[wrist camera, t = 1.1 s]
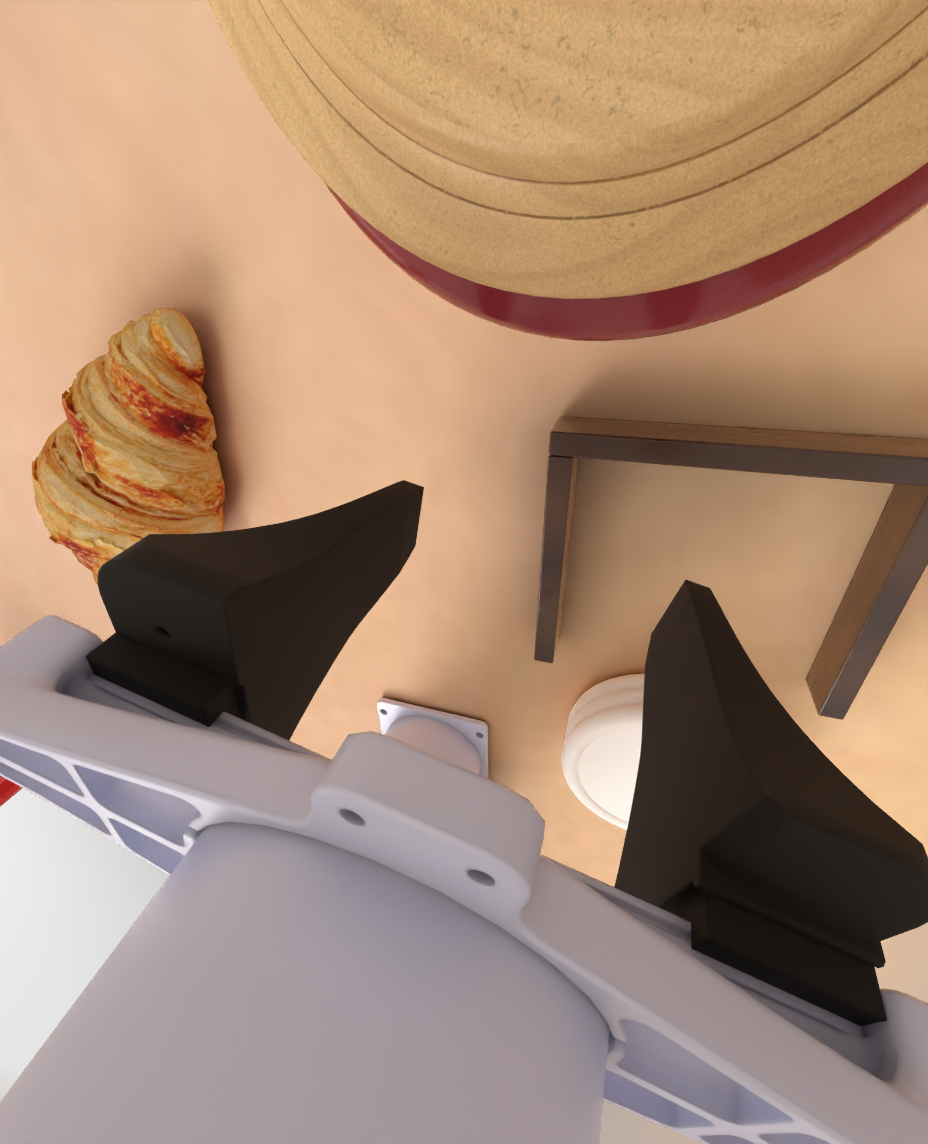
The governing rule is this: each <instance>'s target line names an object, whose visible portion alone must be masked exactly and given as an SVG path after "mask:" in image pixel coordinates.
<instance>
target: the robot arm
mask: <svg viewBox="0 0 928 1144" xmlns="http://www.w3.org/2000/svg"><path fill="white" fill-rule="evenodd" d="M423 490H424V487H421V486H419V485H416V484H413V483H410V482H407V481H404V480H403V481H400V482H397V483H395V484H392V485H390V486H388V487H385V488H383V489H380V490H378V491H376V492H373V493H371V494H369V495H366V496H364V497H361V498H359V499H356V500H354V501H351V502H349V503H346V504H343V505H340V506H337V507H335V508H332V509H329V510H326V511H323V512H320V513H317V514H314V515H311V516H307V517H303V518H300V519H295V520H291V521H287V522H283V523H278V524H273V525H267V526H261V527H255V528H249V529H242V530H234V531H224V532H212V533H196V534H149V535H147V536H146V537H144V538H143V539H141V540H140V541H138V542H136V543H135V544H133V545H132V546H130V547H129V548H127V549H126V550H124V551H123V552H121V553H120V554H118V555H117V556H115V557H113V558H112V559H110V560H109V561H107V562H106V563H104V564H103V565H102V566H101V568H100V569H99V571H98V588H99V591H100V595H101V597H102V600H103V602H104V604H105V607H106V609H107V612H108V614H109V617H110V619H111V621H112V624H113V626H114V629H115V631H116V633H115V634H113V635H112V636H111V637H110V638H108V639H107V640H106V641H104V642H103V641H102V640H101V639H100V638H99V637H98V636H97V635H96V634H94V633H92V632H91V631H89V630H87V629H85V628H82V627H80V626H78V625H76V624H73V623H71V622H69V621H67V620H64V619H62V618H60V617H58V616H55V615H50V614H48V615H47V616H45V617H44V618H42V619H41V620H39V621H38V622H36V623H35V624H33V625H32V626H30V627H29V628H27V629H26V630H24V631H23V632H21V633H20V634H19V635H17V636H16V637H14V638H13V639H11V640H10V641H8V642H7V643H5V644H4V645H2V646H1V647H0V776H2V777H4V778H6V779H8V780H10V781H11V782H13V783H15V784H17V785H19V786H21V787H23V788H24V789H26V790H28V791H30V792H32V793H33V794H35V795H37V796H39V797H41V798H42V799H44V800H46V801H47V802H49V803H51V804H53V805H54V806H56V807H58V808H59V809H61V810H63V811H64V812H66V813H68V814H70V815H71V816H73V817H75V818H76V819H78V820H80V821H81V822H83V823H85V824H86V825H88V826H90V827H91V828H93V829H94V830H96V831H98V832H99V833H101V834H103V835H104V836H106V837H107V838H109V839H111V840H112V841H114V842H116V843H117V844H119V845H121V846H122V847H124V848H125V849H127V850H129V851H130V852H132V853H134V854H135V855H137V856H139V857H140V858H142V859H144V860H145V861H147V862H148V863H150V864H152V865H153V866H155V867H157V868H158V869H160V870H161V871H163V872H165V873H166V874H168V875H169V877H168V879H167V880H166V882H165V883H164V884H163V886H162V887H161V888H160V889H159V891H158V892H157V893H156V895H155V896H154V897H153V899H152V900H151V901H150V903H149V904H148V905H147V907H146V908H145V909H144V911H143V912H142V913H141V915H140V916H139V917H138V919H137V920H136V921H135V923H134V924H133V925H132V927H131V928H130V929H129V931H128V932H127V933H126V935H125V936H124V938H123V939H122V940H121V941H120V943H119V944H118V945H117V947H116V948H115V949H114V951H113V952H112V954H111V955H110V956H109V958H108V959H107V960H106V961H105V963H104V964H103V966H102V967H101V968H100V969H99V971H98V972H97V973H96V975H95V976H94V977H93V979H92V980H91V981H90V983H89V984H88V985H87V987H86V988H85V989H84V991H83V992H82V993H81V995H80V996H79V997H78V999H77V1000H76V1001H75V1003H74V1004H73V1005H72V1007H71V1008H70V1009H69V1011H68V1012H67V1014H66V1015H65V1016H64V1018H63V1019H62V1020H61V1021H60V1023H59V1024H58V1026H57V1027H56V1028H55V1030H54V1031H53V1032H52V1034H51V1035H50V1036H49V1038H48V1039H47V1040H46V1042H45V1043H44V1044H43V1046H42V1047H41V1048H40V1050H39V1051H38V1052H37V1054H36V1055H35V1056H34V1058H33V1059H32V1060H31V1062H30V1063H29V1064H28V1066H27V1067H26V1068H25V1070H24V1071H23V1072H22V1074H21V1075H20V1076H19V1078H18V1079H17V1080H16V1082H15V1083H14V1084H13V1086H12V1087H11V1088H10V1090H9V1091H8V1092H7V1094H6V1095H5V1096H4V1098H3V1099H2V1100H1V1102H0V1144H599V1138H600V1126H601V1116H602V1105H603V1100H605V1101H607V1102H609V1103H611V1104H614V1105H616V1106H618V1107H621V1108H623V1109H626V1110H628V1111H630V1112H632V1113H634V1114H637V1115H639V1116H641V1117H644V1118H646V1119H648V1120H651V1121H653V1122H655V1123H657V1124H660V1125H662V1126H664V1127H667V1128H669V1129H671V1130H673V1131H676V1132H678V1133H680V1134H683V1135H685V1136H687V1137H690V1138H692V1139H694V1140H697V1141H699V1142H701V1143H703V1144H928V1003H926V1002H924V1001H922V1000H920V999H917V998H915V997H913V996H911V995H908V994H905V993H902V992H899V991H896V990H889V989H879V984H878V980H877V976H876V972H875V967H877V968H881V967H884V964H885V958H884V954H883V950H882V946H881V942H880V941H882V940H885V939H888V938H890V937H893V936H896V935H898V934H901V933H904V932H906V931H909V930H912V929H915V928H917V927H919V926H921V925H923V924H925V923H927V922H928V857H927V854H926V852H925V849H924V847H923V844H922V843H920V842H919V841H918V840H917V839H916V838H915V837H913V836H912V835H911V834H910V833H909V832H908V831H906V830H905V829H904V828H903V827H902V826H900V825H899V824H898V823H897V822H896V821H895V820H893V819H892V818H891V817H890V816H889V815H888V814H886V813H885V812H884V811H883V810H882V809H880V808H879V807H878V806H877V805H876V804H875V803H873V802H872V801H871V800H870V799H869V798H868V797H867V796H866V795H865V794H864V793H863V792H862V791H861V790H859V789H858V788H857V787H856V786H855V785H854V784H853V783H852V782H851V781H850V780H849V779H848V778H847V777H846V776H845V775H844V774H843V773H842V772H841V771H840V770H839V769H838V768H837V767H836V766H835V765H834V764H833V763H832V762H831V761H830V760H829V759H828V758H827V757H826V756H825V755H824V754H823V753H822V752H821V751H820V750H819V748H818V747H817V746H816V745H815V744H814V743H813V742H812V741H811V740H810V739H809V737H808V736H807V735H806V734H805V733H804V732H803V731H802V730H801V728H800V727H799V726H798V725H797V724H796V723H795V721H794V720H793V719H792V718H791V716H790V715H789V714H788V713H787V711H786V710H785V709H784V707H783V706H782V705H781V704H780V702H779V701H778V700H777V698H776V697H775V696H774V694H773V693H772V692H771V690H770V689H769V688H768V686H767V685H766V683H765V682H764V680H763V679H762V677H761V676H760V674H759V673H758V671H757V670H756V668H755V667H754V665H753V664H752V662H751V660H750V659H749V657H748V656H747V654H746V652H745V651H744V649H743V647H742V645H741V644H740V642H739V640H738V639H737V637H736V635H735V633H734V631H733V630H732V628H731V626H730V624H729V622H728V620H727V619H726V617H725V615H724V613H723V611H722V609H721V607H720V605H719V604H718V602H717V600H716V598H715V596H714V594H713V593H712V591H711V589H710V588H708V587H705V586H702V585H699V584H696V583H694V582H691V581H688V580H685V581H684V583H683V585H682V586H681V588H680V589H679V591H678V593H677V594H676V596H675V597H674V599H673V600H672V602H671V604H670V605H669V607H668V608H667V610H666V612H665V613H664V615H663V616H662V618H661V619H660V621H659V623H658V624H657V626H656V627H655V629H654V630H653V632H652V634H651V638H650V643H649V648H648V653H647V658H646V664H645V675H644V694H643V718H642V741H641V751H640V760H639V766H638V772H637V778H636V784H635V790H634V796H633V801H632V806H631V812H630V817H629V823H628V828H627V832H626V837H625V842H624V847H623V852H622V856H621V861H620V866H619V870H618V874H617V879H616V883H615V887H612V886H610V885H608V884H605V883H603V882H601V881H599V880H597V879H594V878H592V877H590V876H588V875H585V874H583V873H581V872H579V871H577V870H574V869H572V868H570V867H568V866H566V865H563V864H561V863H559V862H557V861H554V860H552V859H550V858H548V857H546V856H543V855H541V854H540V852H541V847H542V843H543V838H544V826H545V821H544V819H543V818H542V817H541V815H540V814H539V813H538V811H537V810H536V809H535V808H534V806H533V805H532V804H531V803H530V801H529V800H528V799H526V798H525V797H523V796H521V795H520V794H518V793H517V792H515V791H513V790H512V789H510V788H508V787H507V786H505V785H502V784H500V783H498V782H496V781H493V780H491V779H489V778H488V725H487V724H486V723H485V722H483V721H480V720H476V719H472V718H467V717H463V716H459V715H455V714H450V713H446V712H442V711H437V710H433V709H429V708H425V707H420V706H416V705H412V704H408V703H403V702H399V701H395V700H390V699H386V698H381V699H379V701H378V702H377V709H378V715H379V721H380V728H381V734H380V733H376V732H373V731H369V732H362V733H355V734H349V735H348V736H347V738H346V739H345V741H344V742H343V744H342V746H341V747H340V749H339V750H338V752H337V754H336V755H335V757H334V758H333V760H331V759H328V758H326V757H324V756H322V755H320V754H317V753H315V752H313V751H311V750H309V749H306V748H304V747H302V746H300V745H297V744H295V743H293V742H291V741H289V740H290V738H291V736H292V734H293V732H294V730H295V728H296V727H297V725H298V723H299V721H300V719H301V717H302V716H303V714H304V712H305V710H306V709H307V707H308V705H309V703H310V701H311V700H312V698H313V696H314V694H315V693H316V691H317V689H318V688H319V686H320V684H321V682H322V681H323V679H324V677H325V676H326V674H327V672H328V671H329V669H330V667H331V666H332V664H333V662H334V661H335V659H336V658H337V656H338V654H339V653H340V651H341V650H342V648H343V646H344V645H345V643H346V642H347V640H348V638H349V637H350V636H351V634H352V633H353V631H354V630H355V629H356V627H357V626H358V625H359V623H360V622H361V621H362V620H363V618H364V617H365V616H366V615H367V613H368V612H369V611H370V610H371V608H372V607H373V606H374V605H375V603H376V602H377V601H378V600H379V598H380V597H381V596H382V595H383V593H384V592H385V591H386V590H387V588H388V587H389V586H390V584H391V583H392V582H393V581H394V579H395V578H396V577H397V575H398V574H399V573H400V571H401V570H402V568H403V566H404V565H405V563H406V561H407V560H408V558H409V556H410V554H411V552H412V551H413V549H414V547H415V544H416V537H417V531H418V524H419V517H420V510H421V503H422V496H423ZM479 732H480V733H479ZM874 966H875V967H874Z"/></svg>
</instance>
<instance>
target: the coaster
mask: <svg viewBox="0 0 928 1144" xmlns="http://www.w3.org/2000/svg"><path fill="white" fill-rule="evenodd" d="M644 675H645V674H631V675H624V676H619V677H615V678H611V679H608V680H605V681H603V682H600V683H598V684H596V685H595V686H593V687H591V688H590V689H588V690H587V691H586V692H584V693H583V694H582V695H581V696H580V698H579V699H578V700H577V701H576V703H575V704H574V706H573V707H572V709H571V711H570V714H569V716H568V721H567V729H566V732H565V736H564V744H563V748H562V753H561V762H562V769H563V774H564V777H565V780H566V782H567V784H568V786H569V787H570V789H571V790H572V792H573V793H574V794H575V795H576V797H577V798H578V799H579V800H580V801H581V802H582V803H583V804H584V805H585V806H587V807H588V808H589V809H590V810H591V811H593V812H594V813H596V814H597V815H598V816H600V817H602V818H603V819H605V820H606V821H608V822H610V823H612V824H614V825H616V826H619V827H621V828H624V829H626V830H627V828H628V823H629V817H630V812H631V806H632V801H633V796H634V790H635V784H636V778H637V772H638V766H639V760H640V751H641V741H642V718H643V694H644Z"/></svg>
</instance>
